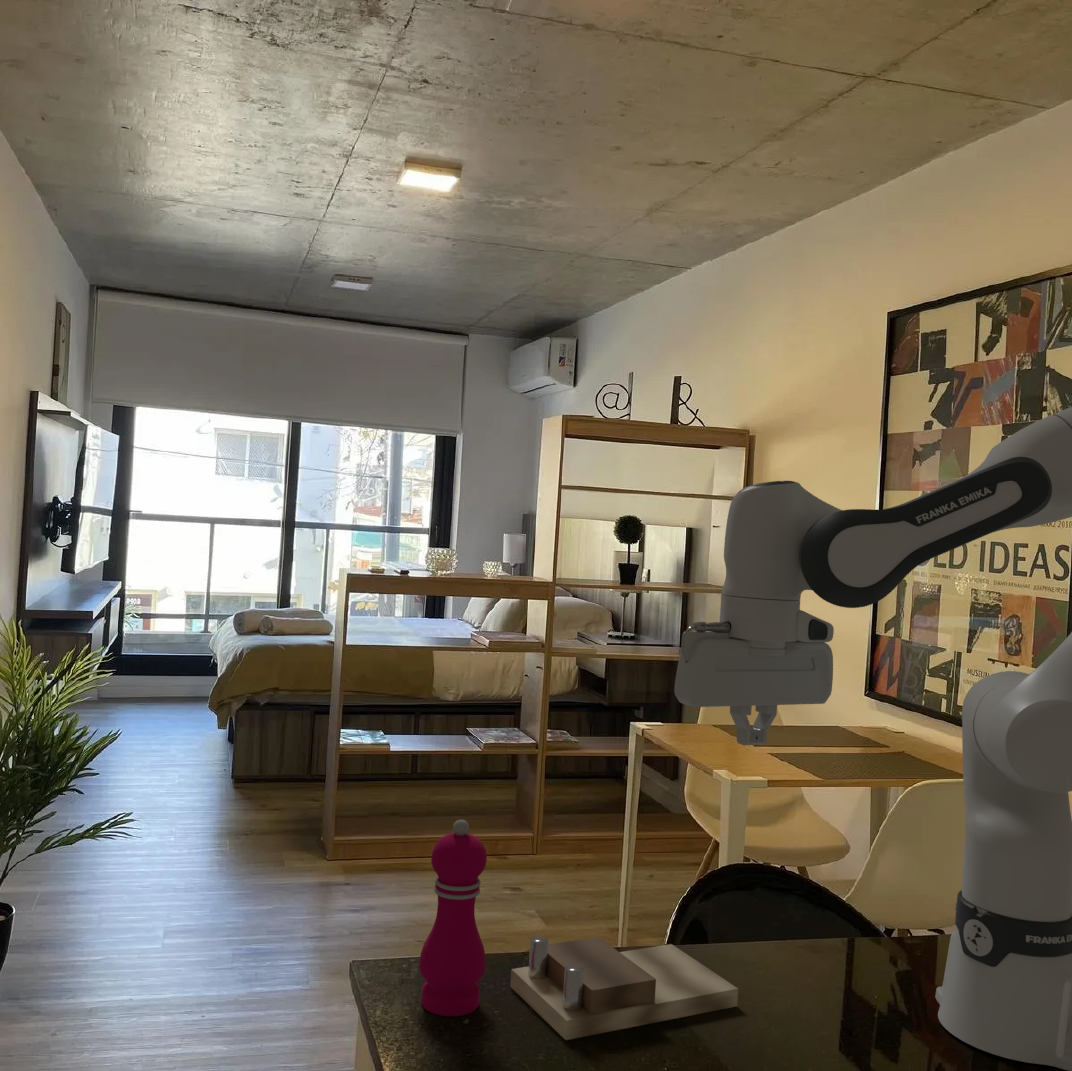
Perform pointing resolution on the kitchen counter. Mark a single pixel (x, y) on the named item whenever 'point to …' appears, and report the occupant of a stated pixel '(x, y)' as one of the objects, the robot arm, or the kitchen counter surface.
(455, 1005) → the pepper mill
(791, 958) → the kitchen counter surface
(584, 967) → the walnut plate
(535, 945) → the board
